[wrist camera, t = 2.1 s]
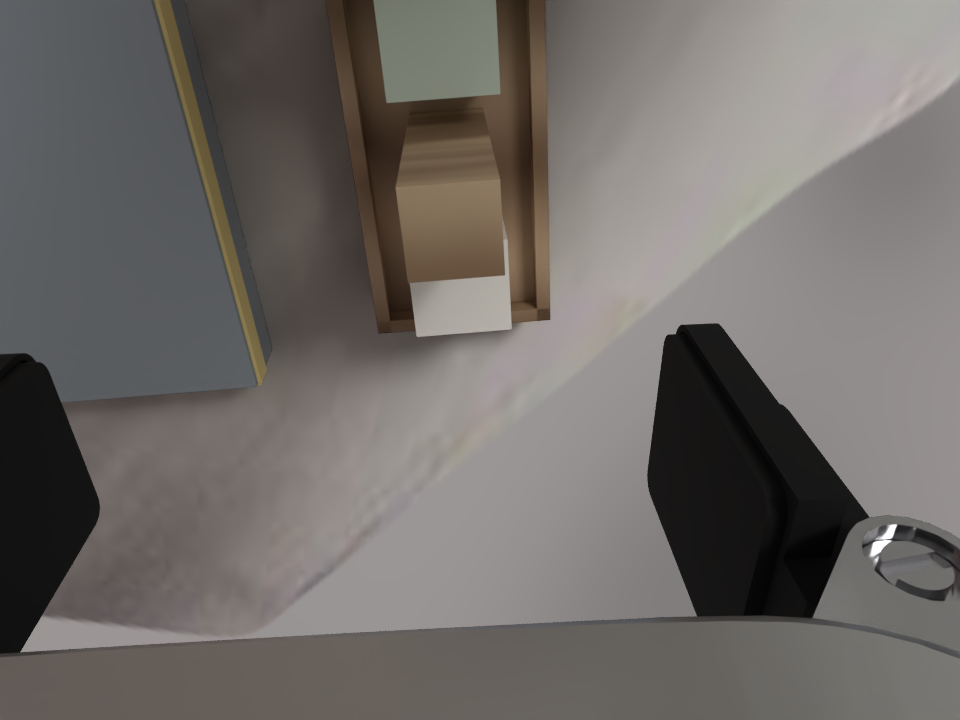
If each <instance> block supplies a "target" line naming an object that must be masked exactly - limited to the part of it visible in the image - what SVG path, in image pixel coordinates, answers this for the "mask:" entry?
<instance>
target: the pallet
mask: <svg viewBox="0 0 960 720" xmlns="http://www.w3.org/2000/svg"><path fill="white" fill-rule="evenodd" d="M326 6H327V13H328V19H329V25H330V31H331V38H332V44H333V50H334V56H335V63H336V69H337V75H338V81H339V88H340V94H341V100H342V106H343V113H344V119H345V125H346V132H347V138H348V144H349V150H350V157H351V163H352V169H353V175H354V182H355V188H356V194H357V200H358V207H359V213H360V219H361V225H362V232H363V238H364V244H365V250H366V257H367V263H368V269H369V275H370V282H371V288H372V294H373V300H374V307H375V313H376V319H377V325H378V332H379V333H392V332H404V331H416V328H415V320H414V313H413V305H412V297H411V289H410V283H416V282H429V281H441V280H454V279H466V278H479V277H491V276H504V275H505V263H504V243H503V224H502V217H503V221H504V226H505V231H506V235H507V240H508V261H509V282H510V302H511V323H516V322H529V321H541V320H550V273H549V210H548V147H547V85H546V22H545V0H496V12H497V33H498V53H499V74H500V94H496V95H484V96H471V97H458V98H445V99H433V100H420V101H407V102H394V103H387V102H386V95H385V87H384V79H383V71H382V63H381V56H380V48H379V40H378V32H377V25H376V17H375V9H374V1H373V0H326Z"/></svg>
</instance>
